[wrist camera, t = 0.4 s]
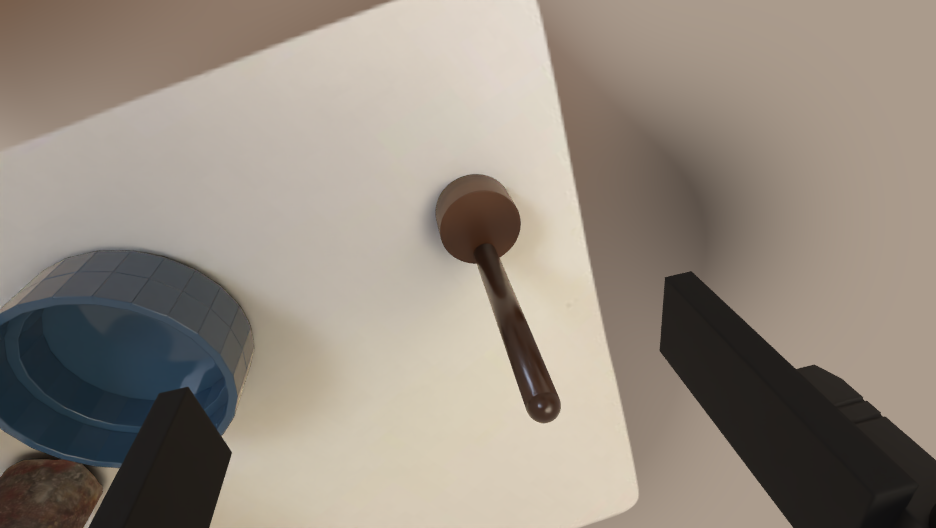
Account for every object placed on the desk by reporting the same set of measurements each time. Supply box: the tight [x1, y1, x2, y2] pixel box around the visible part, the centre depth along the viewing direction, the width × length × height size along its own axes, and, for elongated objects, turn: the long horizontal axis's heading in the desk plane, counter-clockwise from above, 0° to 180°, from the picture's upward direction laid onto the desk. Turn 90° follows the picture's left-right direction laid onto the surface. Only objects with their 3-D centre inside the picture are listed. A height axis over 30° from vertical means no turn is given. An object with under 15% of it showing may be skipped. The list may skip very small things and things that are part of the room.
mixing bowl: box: [0, 251, 254, 468], centre depth 34 cm, size 15×15×6 cm
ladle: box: [436, 174, 561, 423], centre depth 28 cm, size 6×6×18 cm
